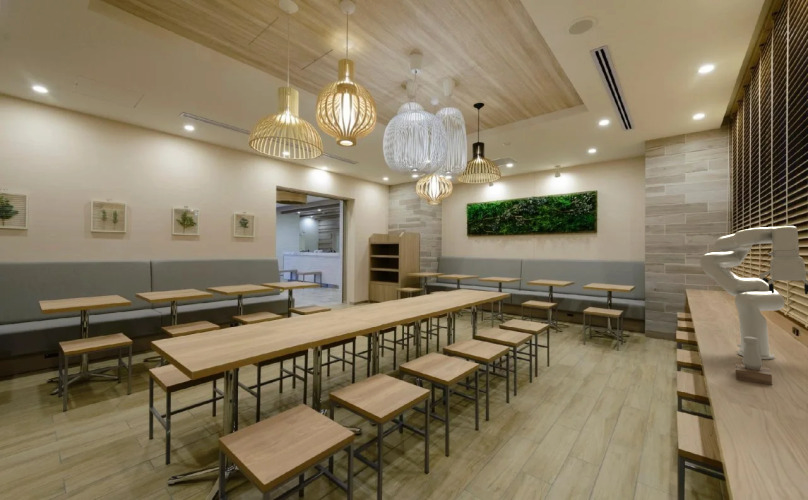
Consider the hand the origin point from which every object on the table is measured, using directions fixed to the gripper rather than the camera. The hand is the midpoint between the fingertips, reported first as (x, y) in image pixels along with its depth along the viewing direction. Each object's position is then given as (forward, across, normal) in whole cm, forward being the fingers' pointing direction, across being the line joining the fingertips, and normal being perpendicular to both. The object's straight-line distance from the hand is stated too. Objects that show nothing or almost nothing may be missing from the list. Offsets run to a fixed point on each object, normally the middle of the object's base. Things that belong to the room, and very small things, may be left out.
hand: (789, 293), depth 145 cm
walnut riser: (+33, -12, -24) cm, 42 cm away
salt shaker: (+29, -12, -23) cm, 39 cm away
